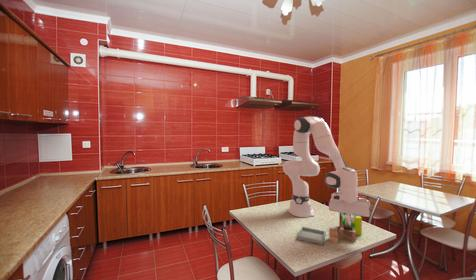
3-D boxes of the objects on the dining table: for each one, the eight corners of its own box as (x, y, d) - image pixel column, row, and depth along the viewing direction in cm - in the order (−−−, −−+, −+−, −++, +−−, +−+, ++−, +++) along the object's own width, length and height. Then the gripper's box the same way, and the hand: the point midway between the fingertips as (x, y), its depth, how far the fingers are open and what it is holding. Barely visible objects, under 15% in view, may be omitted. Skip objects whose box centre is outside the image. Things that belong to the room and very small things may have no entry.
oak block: (329, 238, 117) (330, 227, 117) (337, 239, 115) (337, 229, 115) (329, 241, 114) (329, 230, 114) (337, 243, 112) (337, 232, 112)
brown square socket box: (340, 232, 124) (340, 224, 123) (355, 235, 120) (355, 227, 120) (340, 238, 117) (340, 229, 117) (355, 241, 113) (355, 232, 113)
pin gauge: (345, 228, 120) (345, 207, 120) (350, 229, 118) (351, 208, 118) (345, 230, 117) (345, 209, 117) (350, 231, 116) (351, 210, 116)
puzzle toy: (357, 228, 130) (357, 212, 130) (361, 235, 121) (361, 218, 120) (339, 226, 133) (339, 210, 133) (342, 233, 123) (342, 216, 123)
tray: (302, 230, 127) (302, 226, 127) (325, 235, 121) (325, 231, 121) (297, 239, 115) (297, 235, 115) (322, 245, 109) (323, 241, 109)
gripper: (369, 197, 116) (369, 222, 116) (329, 193, 125) (329, 215, 126) (370, 201, 110) (370, 227, 110) (328, 195, 120) (328, 219, 120)
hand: (348, 221), depth 118 cm, fingers closed on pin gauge, 3 cm apart
